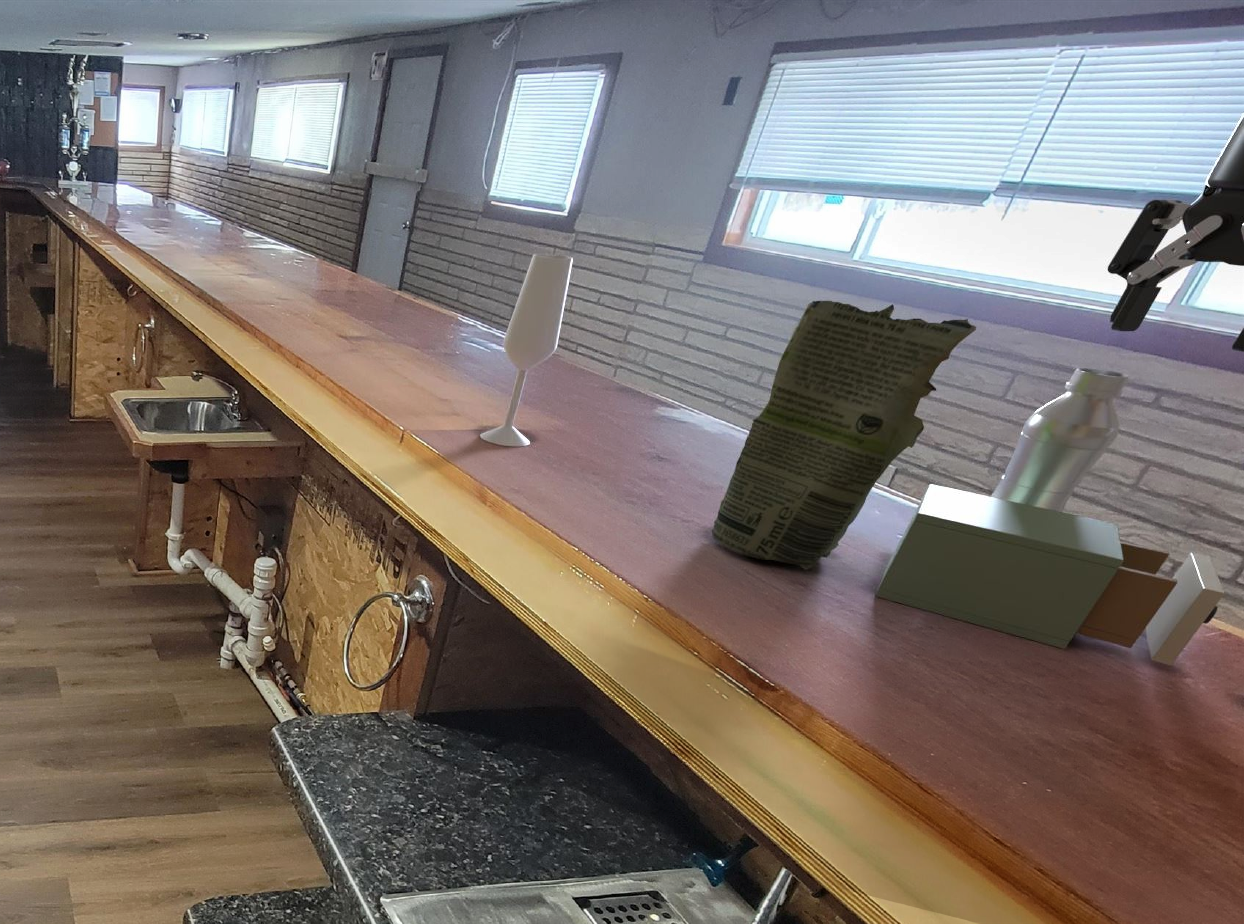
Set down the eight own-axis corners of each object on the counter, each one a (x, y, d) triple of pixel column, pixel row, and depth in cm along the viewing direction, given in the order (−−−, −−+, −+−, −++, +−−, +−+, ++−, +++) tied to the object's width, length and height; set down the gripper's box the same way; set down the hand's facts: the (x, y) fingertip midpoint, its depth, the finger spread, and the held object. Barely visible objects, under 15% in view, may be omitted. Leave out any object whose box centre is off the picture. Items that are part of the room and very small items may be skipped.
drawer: (1180, 629, 80) (1230, 560, 76) (1191, 671, 73) (1247, 598, 70) (983, 578, 88) (1021, 514, 84) (977, 612, 81) (1018, 544, 78)
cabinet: (1063, 607, 85) (1118, 523, 81) (1064, 649, 77) (1124, 560, 73) (889, 561, 93) (929, 483, 88) (874, 596, 85) (918, 512, 81)
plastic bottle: (934, 550, 96) (1036, 362, 86) (1002, 556, 95) (1113, 367, 85) (975, 575, 90) (1090, 377, 81) (1048, 582, 90) (1173, 383, 80)
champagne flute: (492, 429, 130) (537, 251, 118) (537, 440, 126) (589, 257, 114) (471, 437, 125) (516, 254, 113) (518, 449, 121) (569, 261, 109)
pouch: (701, 524, 100) (794, 289, 88) (824, 543, 96) (939, 301, 84) (720, 562, 91) (826, 306, 78) (857, 584, 87) (991, 320, 75)
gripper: (1486, 123, 62) (1325, 358, 70) (1230, 123, 75) (1117, 324, 83) (1410, 119, 61) (1255, 359, 69) (1163, 120, 73) (1054, 324, 81)
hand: (1180, 340), depth 76 cm, fingers open, 8 cm apart
